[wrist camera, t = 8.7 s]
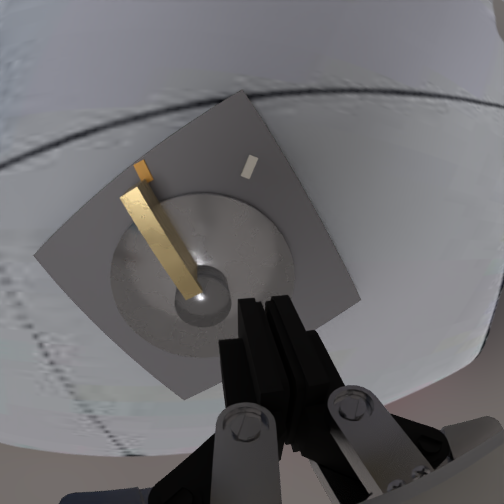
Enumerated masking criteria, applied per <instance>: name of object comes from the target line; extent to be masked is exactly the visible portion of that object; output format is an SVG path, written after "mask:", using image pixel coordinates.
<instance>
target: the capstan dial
mask: <svg viewBox="0 0 504 504" xmlns="http://www.w3.org/2000/svg"><path fill="white" fill-rule="evenodd" d="M120 199H121V201H122V203H123V204H124V206H125V208H126V209H127V211H128V213H129V214H130V216H131V218H132V219H133V222H132V223H131V224H130V226H129V227H128V228H127V229H126V231H125V232H124V234H123V236H122V237H121V239H120V241H119V242H118V244H117V247H116V249H115V252H114V254H113V259H112V263H111V272H110V281H111V289H112V294H113V298H114V301H115V303H116V306H117V308H118V310H119V312H120V314H121V315H122V317H123V318H124V320H125V321H126V323H127V324H128V325H129V326H130V327H131V328H132V329H133V330H134V332H135V333H137V334H138V335H139V336H140V337H141V338H143V339H144V340H146V341H147V342H149V343H150V344H152V345H154V346H155V347H157V348H159V349H162V350H164V351H167V352H170V353H173V354H176V355H180V356H186V357H195V358H209V357H218V356H220V354H219V340H222V339H235V338H238V299H242V298H255V300H256V302H260V301H261V302H262V305H263V307H264V310H265V302H266V301H271V297H272V296H279V295H289V297H290V299H291V297H292V293H293V289H294V280H295V273H294V264H293V259H292V255H291V252H290V249H289V247H288V245H287V243H286V241H285V239H284V237H283V236H282V234H281V233H280V231H279V230H278V229H277V227H276V226H275V225H274V223H273V222H272V221H271V220H270V219H269V218H268V217H267V216H266V215H265V214H263V213H262V212H261V211H259V210H258V209H256V208H255V207H253V206H252V205H250V204H248V203H246V202H244V201H242V200H239V199H237V198H234V197H231V196H227V195H223V194H219V193H208V192H196V193H187V194H181V195H177V196H173V197H170V198H167V199H165V200H163V201H160V202H159V201H158V200H157V198H156V196H155V194H154V193H153V191H152V189H151V187H150V186H149V184H148V182H147V180H146V179H143V180H142V181H140V182H138V183H137V184H135V185H133V186H132V187H130V188H129V189H128V190H127V191H126V192H125V193H124V194H123V195H122V196H121V197H120Z"/></svg>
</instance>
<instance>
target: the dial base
mask: <svg viewBox="0 0 504 504" xmlns="http://www.w3.org/2000/svg"><path fill="white" fill-rule="evenodd" d="M143 179H146V180H147V182H148V184H149V186H150V187H151V189H152V191H153V193H154V194H155V196H156V198H157V200H158V201H159V202H160V201H163V200H165V199H167V198H170V197H173V196H177V195H181V194H187V193H196V192H208V193H219V194H223V195H227V196H231V197H234V198H237V199H239V200H242V201H244V202H246V203H248V204H250V205H252V206H253V207H255V208H256V209H258V210H259V211H261V212H262V213H263V214H265V215H266V216H267V217H268V218H269V219H270V220H271V221H272V222H273V223H274V225H275V226H276V227H277V229H278V230H279V231H280V233H281V234H282V236H283V237H284V239H285V241H286V243H287V245H288V247H289V249H290V252H291V255H292V259H293V264H294V273H295V280H294V289H293V293H292V297H291V301H292V303H293V305H294V307H295V309H296V311H297V313H298V315H299V317H300V319H301V321H302V323H303V326H304V328H305V330H306V331H309V330H315V329H317V328H318V327H320V326H322V325H323V324H325V323H326V322H328V321H330V320H331V319H333V318H334V317H336V316H337V315H339V314H340V313H342V312H344V311H345V310H347V309H348V308H350V307H351V306H353V305H354V304H356V303H357V302H359V301H360V300H361V298H360V296H359V294H358V292H357V290H356V288H355V286H354V284H353V282H352V280H351V278H350V276H349V274H348V272H347V270H346V268H345V266H344V264H343V262H342V260H341V258H340V256H339V254H338V252H337V250H336V248H335V246H334V244H333V242H332V240H331V238H330V236H329V234H328V233H327V231H326V229H325V227H324V225H323V223H322V221H321V219H320V218H319V216H318V214H317V212H316V210H315V208H314V207H313V205H312V203H311V201H310V199H309V198H308V196H307V194H306V192H305V190H304V189H303V187H302V185H301V183H300V182H299V180H298V178H297V177H296V175H295V173H294V171H293V170H292V168H291V166H290V165H289V163H288V161H287V159H286V158H285V156H284V154H283V153H282V151H281V149H280V148H279V146H278V144H277V143H276V141H275V140H274V138H273V136H272V135H271V133H270V131H269V130H268V128H267V127H266V125H265V123H264V122H263V120H262V119H261V117H260V116H259V114H258V112H257V111H256V109H255V108H254V106H253V105H252V103H251V102H250V100H249V99H248V97H247V96H246V94H245V93H244V91H243V90H241V91H239V92H237V93H236V94H234V95H232V96H231V97H229V98H227V99H226V100H224V101H222V102H221V103H219V104H218V105H216V106H214V107H213V108H211V109H210V110H208V111H206V112H205V113H203V114H202V115H200V116H199V117H197V118H196V119H194V120H193V121H191V122H190V123H188V124H187V125H185V126H184V127H182V128H181V129H179V130H178V131H177V132H175V133H174V134H172V135H171V136H169V137H168V138H167V139H165V140H164V141H163V142H161V143H160V144H158V145H157V146H156V147H154V148H153V149H152V150H150V151H149V152H148V153H146V154H145V155H144V156H142V157H141V158H140V159H138V160H137V161H136V162H135V163H133V164H132V165H131V166H130V167H128V168H127V169H126V170H125V171H123V172H122V173H121V174H120V175H118V176H117V177H116V178H115V179H114V180H112V181H111V182H110V183H109V184H108V185H106V186H105V187H104V188H103V189H102V190H101V191H99V192H98V193H97V194H96V195H95V196H94V197H93V198H92V199H90V200H89V201H88V202H87V203H86V204H85V205H84V206H83V207H82V208H80V209H79V210H78V211H77V212H76V213H75V214H74V215H73V216H72V217H71V218H70V219H69V220H68V221H67V222H66V223H65V224H64V225H63V226H61V227H60V228H59V229H58V230H57V231H56V232H55V233H54V234H53V235H52V236H51V237H50V238H49V239H48V240H47V242H46V243H45V244H44V245H43V246H42V247H41V248H40V249H39V250H38V251H37V252H36V253H35V254H34V255H33V256H34V257H35V258H36V259H37V261H38V262H39V263H40V264H41V265H42V267H43V268H44V269H45V270H46V271H47V273H48V274H49V275H50V276H51V277H52V278H53V280H54V281H55V282H56V283H57V284H58V285H59V286H60V288H61V289H62V290H63V291H64V292H65V293H66V294H67V295H68V296H69V297H70V299H71V300H72V301H73V302H74V303H75V304H76V305H77V306H78V307H79V308H80V309H81V310H82V311H83V312H84V313H85V314H86V315H87V316H88V317H89V318H90V319H91V320H92V321H93V322H94V323H95V324H96V325H97V326H98V327H99V328H100V329H101V330H102V331H103V332H104V333H105V334H106V335H107V336H108V337H109V338H110V339H111V340H112V341H114V342H115V343H116V344H117V345H118V346H119V347H120V348H121V349H122V350H123V351H125V352H126V353H127V354H128V355H129V356H130V357H131V358H132V359H134V360H135V361H136V362H137V363H138V364H139V365H141V366H142V367H143V368H144V369H145V370H147V371H148V372H149V373H150V374H151V375H153V376H154V377H155V378H156V379H158V380H159V381H160V382H161V383H163V384H164V385H165V386H166V387H168V388H169V389H170V390H171V391H173V392H174V393H175V394H177V395H178V396H179V397H181V398H182V399H183V400H186V399H188V398H190V397H192V396H194V395H196V394H198V393H200V392H202V391H204V390H206V389H208V388H211V387H213V386H215V385H217V384H219V383H221V382H222V375H221V366H220V356H218V357H209V358H195V357H186V356H180V355H176V354H173V353H170V352H167V351H164V350H162V349H159V348H157V347H155V346H154V345H152V344H150V343H149V342H147V341H146V340H144V339H143V338H141V337H140V336H139V335H138V334H137V333H135V332H134V330H133V329H132V328H131V327H130V326H129V325H128V324H127V323H126V321H125V320H124V318H123V317H122V315H121V314H120V312H119V310H118V308H117V306H116V303H115V301H114V298H113V294H112V289H111V281H110V272H111V263H112V259H113V254H114V252H115V249H116V247H117V244H118V242H119V241H120V239H121V237H122V236H123V234H124V232H125V231H126V229H127V228H128V227H129V226H130V224H131V223H132V222H133V219H132V218H131V216H130V214H129V213H128V211H127V209H126V208H125V206H124V204H123V203H122V201H121V199H120V197H121V196H122V195H123V194H124V193H125V192H126V191H127V190H128V189H129V188H130V187H132V186H133V185H135V184H137V183H138V182H140V181H142V180H143Z"/></svg>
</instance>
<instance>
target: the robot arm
mask: <svg viewBox="0 0 504 504" xmlns="http://www.w3.org/2000/svg"><path fill="white" fill-rule="evenodd" d="M219 354H220V366H221V375H222V384H223V391H224V399H225V407H226V409H224V410H223V411H222V412H221V413H220V415H219V416H218V419H217V422H216V430H215V433H214V434H213V435H212V436H211V437H210V438H209V439H208V440H207V441H206V442H204V443H203V444H202V445H201V446H200V447H199V448H198V449H197V450H196V451H194V452H193V453H192V454H191V455H190V456H189V457H188V458H186V459H185V460H184V461H183V462H182V463H181V464H179V465H178V466H177V467H176V468H175V469H174V470H172V471H171V472H170V473H169V474H168V475H166V476H165V477H164V478H163V479H162V480H161V481H159V482H158V483H157V484H156V485H155V486H154V487H152V488H145V489H139V488H138V487H134V488H127V489H118V490H108V491H95V492H75V493H71V494H67V495H66V496H64V497H63V498H62V499H61V501H60V503H59V504H282V500H281V486H280V472H279V461H280V460H281V455H282V451H283V445H284V442H285V444H286V445H288V444H291V446H292V449H293V452H297V451H300V452H301V455H302V456H304V457H306V458H308V459H309V461H310V464H311V466H312V468H313V470H314V472H315V474H316V475H317V477H318V479H319V481H320V483H321V485H322V486H323V488H324V490H325V492H326V494H327V495H328V497H329V499H330V501H331V502H332V504H504V429H503V428H502V426H501V424H500V423H499V421H498V420H496V419H495V418H493V417H490V416H485V417H481V418H477V419H473V420H470V421H466V422H462V423H458V424H454V425H449V426H445V427H443V428H442V429H441V430H437V429H435V428H433V427H429V426H426V425H423V424H420V423H417V422H414V421H411V420H408V419H405V418H402V417H399V416H396V415H393V414H390V413H389V412H388V411H387V410H386V408H385V407H384V406H383V404H382V403H381V402H380V401H379V399H378V398H377V397H376V396H375V395H374V394H373V393H372V392H371V391H370V390H368V389H366V388H364V387H360V386H357V385H347V386H345V385H344V383H343V381H342V379H341V377H340V375H339V373H338V371H337V370H336V368H335V366H334V364H333V362H332V360H331V358H330V356H329V354H328V352H327V350H326V348H325V346H324V344H323V342H322V341H321V339H320V337H319V335H318V333H317V332H316V331H315V330H309V331H306V330H305V328H304V326H303V323H302V321H301V319H300V317H299V315H298V313H297V311H296V309H295V307H294V305H293V303H292V301H291V299H290V297H289V295H279V296H272V297H271V301H266V302H265V310H264V307H263V305H262V302H261V301H260V302H256V300H255V298H242V299H238V338H235V339H222V340H219Z"/></svg>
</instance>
